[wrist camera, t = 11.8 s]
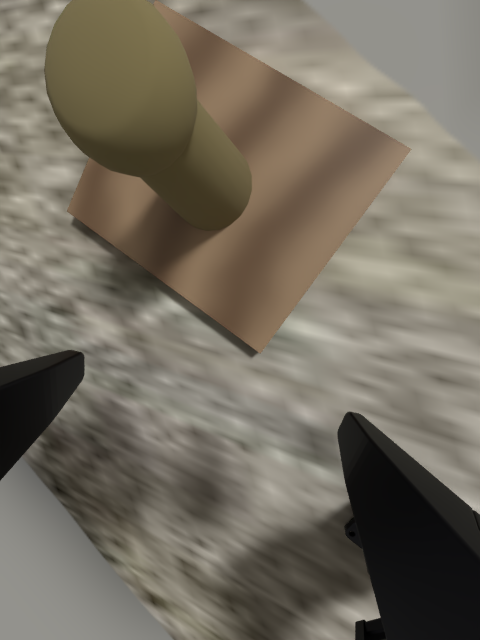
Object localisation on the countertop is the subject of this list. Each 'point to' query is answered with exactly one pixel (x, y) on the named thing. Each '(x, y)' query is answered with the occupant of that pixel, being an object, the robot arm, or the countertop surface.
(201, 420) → the countertop surface
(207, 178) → the cork
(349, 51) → the countertop surface
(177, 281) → the walnut board
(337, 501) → the countertop surface
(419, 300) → the countertop surface
